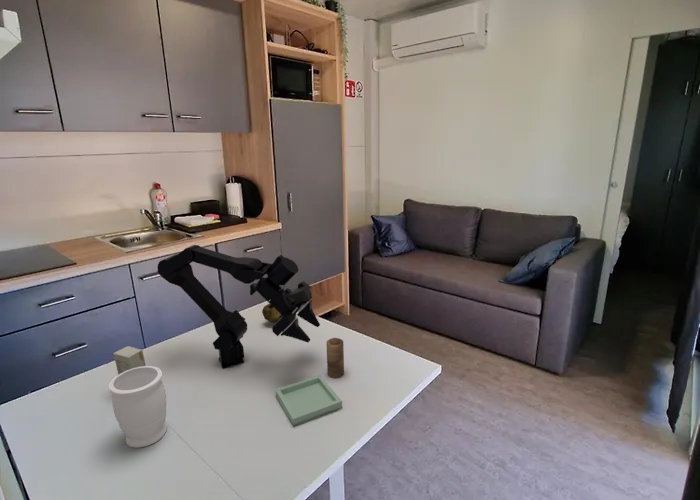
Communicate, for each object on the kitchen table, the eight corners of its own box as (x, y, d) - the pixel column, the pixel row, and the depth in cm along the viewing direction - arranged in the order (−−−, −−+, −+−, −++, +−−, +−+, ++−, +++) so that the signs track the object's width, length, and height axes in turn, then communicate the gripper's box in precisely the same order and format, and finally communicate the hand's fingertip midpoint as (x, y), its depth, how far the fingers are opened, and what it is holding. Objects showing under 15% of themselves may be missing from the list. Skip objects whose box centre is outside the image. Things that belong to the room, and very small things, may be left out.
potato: (299, 324, 142) (298, 304, 140) (264, 330, 138) (262, 309, 136) (295, 315, 150) (294, 296, 147) (262, 320, 146) (260, 300, 144)
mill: (332, 380, 108) (330, 344, 105) (324, 371, 112) (323, 337, 109) (347, 375, 110) (346, 339, 107) (339, 366, 114) (338, 332, 111)
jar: (181, 424, 92) (172, 369, 88) (146, 457, 82) (134, 397, 78) (147, 415, 95) (137, 362, 91) (109, 445, 86) (96, 387, 82)
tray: (293, 426, 91) (293, 419, 90) (275, 396, 102) (275, 389, 101) (342, 408, 97) (342, 401, 96) (320, 381, 108) (320, 375, 107)
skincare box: (151, 389, 105) (144, 349, 102) (136, 398, 102) (129, 357, 98) (135, 383, 108) (127, 344, 105) (120, 392, 104) (112, 352, 101)
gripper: (280, 289, 97) (323, 332, 98) (304, 266, 115) (340, 303, 115) (254, 315, 101) (296, 356, 102) (281, 289, 119) (316, 325, 119)
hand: (314, 333), depth 109 cm, fingers open, 9 cm apart
